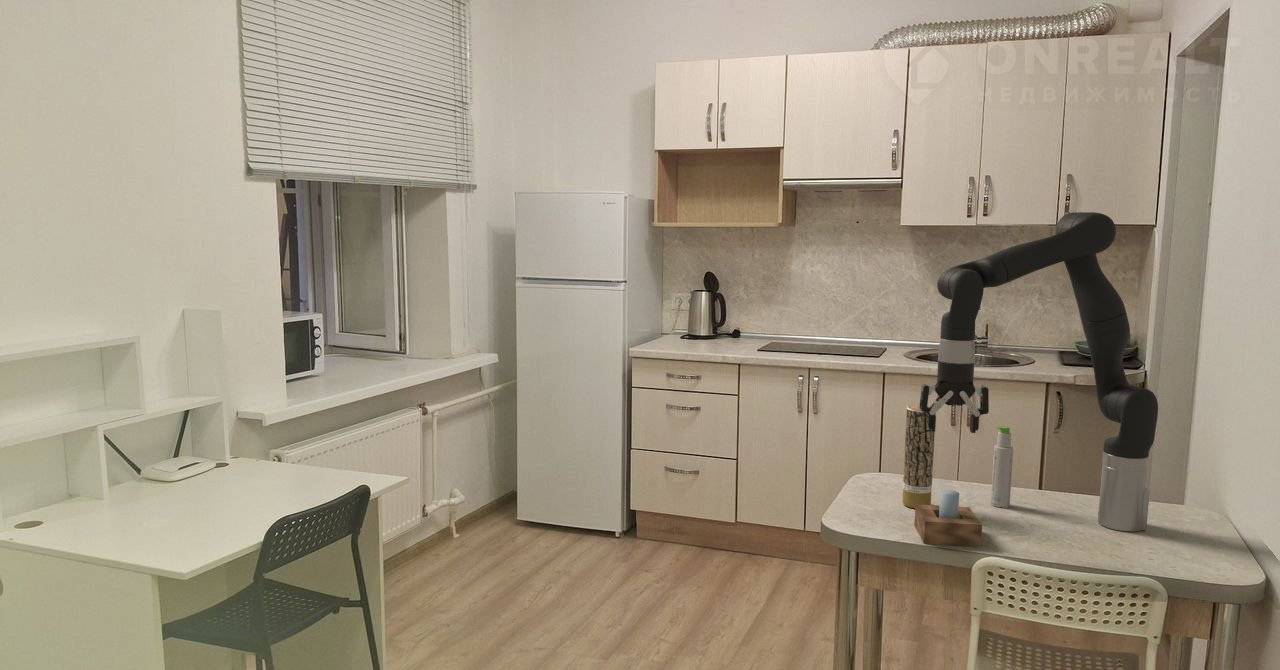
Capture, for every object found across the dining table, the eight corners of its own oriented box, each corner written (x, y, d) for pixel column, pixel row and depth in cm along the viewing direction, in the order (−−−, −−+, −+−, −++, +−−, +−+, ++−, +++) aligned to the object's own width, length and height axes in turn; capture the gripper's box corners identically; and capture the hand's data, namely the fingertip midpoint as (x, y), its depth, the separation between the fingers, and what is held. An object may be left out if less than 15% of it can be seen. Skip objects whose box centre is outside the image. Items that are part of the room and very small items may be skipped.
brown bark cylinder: (934, 510, 211) (939, 410, 208) (906, 509, 211) (911, 410, 208) (925, 501, 218) (930, 404, 215) (898, 501, 218) (903, 404, 215)
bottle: (989, 501, 218) (993, 424, 216) (1007, 503, 217) (1012, 425, 215) (992, 507, 214) (997, 428, 211) (1011, 508, 213) (1016, 429, 210)
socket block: (967, 528, 198) (969, 507, 198) (980, 546, 187) (982, 524, 186) (914, 525, 200) (915, 504, 200) (923, 543, 188) (924, 521, 188)
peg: (954, 533, 195) (957, 490, 194) (958, 539, 191) (961, 495, 190) (936, 532, 196) (938, 489, 194) (940, 538, 192) (942, 494, 190)
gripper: (985, 357, 191) (981, 429, 193) (919, 356, 193) (916, 426, 195) (994, 363, 184) (990, 437, 186) (925, 361, 186) (922, 434, 188)
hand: (952, 431), depth 191 cm, fingers open, 8 cm apart
